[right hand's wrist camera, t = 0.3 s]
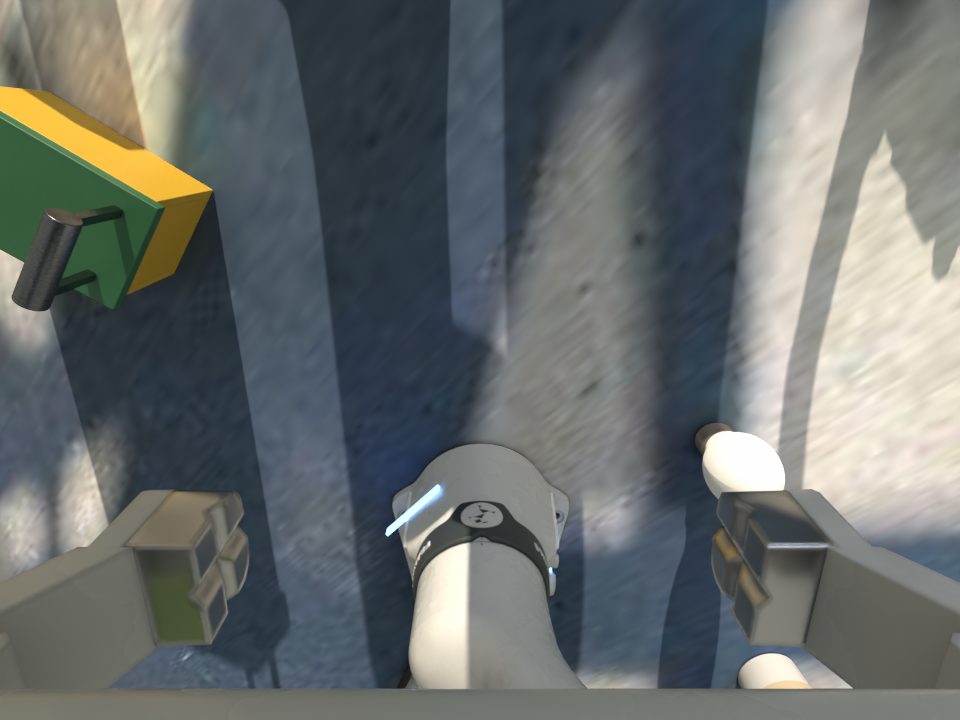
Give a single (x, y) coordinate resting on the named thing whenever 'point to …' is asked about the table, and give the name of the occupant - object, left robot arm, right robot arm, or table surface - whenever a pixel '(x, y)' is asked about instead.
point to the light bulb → (738, 461)
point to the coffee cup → (771, 673)
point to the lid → (68, 221)
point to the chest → (119, 173)
